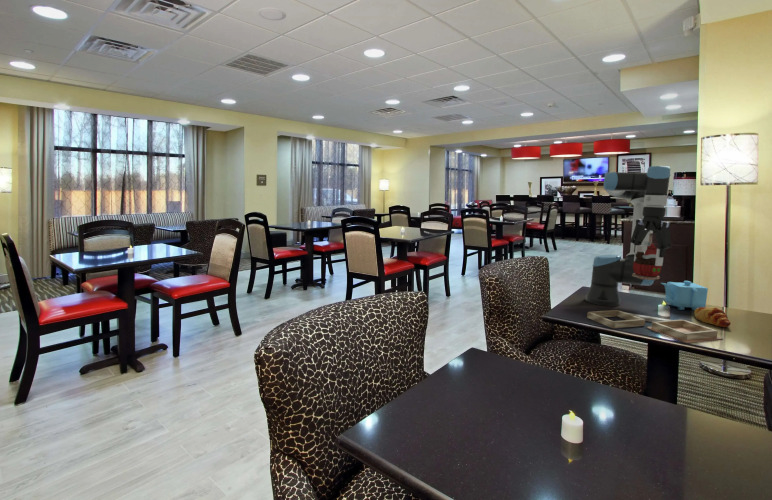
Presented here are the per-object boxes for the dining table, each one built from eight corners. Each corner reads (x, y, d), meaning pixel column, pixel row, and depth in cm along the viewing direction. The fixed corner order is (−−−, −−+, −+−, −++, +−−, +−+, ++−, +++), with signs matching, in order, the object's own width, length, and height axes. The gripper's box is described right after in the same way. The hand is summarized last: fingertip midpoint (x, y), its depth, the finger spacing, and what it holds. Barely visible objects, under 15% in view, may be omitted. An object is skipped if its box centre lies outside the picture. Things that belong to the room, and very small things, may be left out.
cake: (647, 276, 175) (653, 232, 173) (666, 280, 166) (672, 234, 164) (625, 276, 173) (630, 232, 171) (643, 281, 164) (648, 234, 162)
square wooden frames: (587, 317, 182) (587, 311, 182) (645, 313, 191) (646, 307, 191) (656, 346, 151) (657, 338, 150) (722, 339, 160) (723, 331, 159)
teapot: (687, 304, 210) (691, 278, 208) (708, 313, 195) (712, 285, 193) (649, 302, 212) (652, 276, 210) (666, 310, 197) (670, 283, 195)
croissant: (688, 321, 193) (681, 305, 192) (710, 312, 192) (703, 296, 191) (720, 336, 172) (713, 319, 171) (745, 326, 171) (738, 309, 170)
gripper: (624, 205, 175) (618, 258, 179) (672, 207, 154) (664, 268, 157) (639, 205, 177) (633, 258, 180) (688, 208, 156) (680, 268, 159)
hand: (647, 263), depth 169 cm, fingers closed on cake, 9 cm apart
